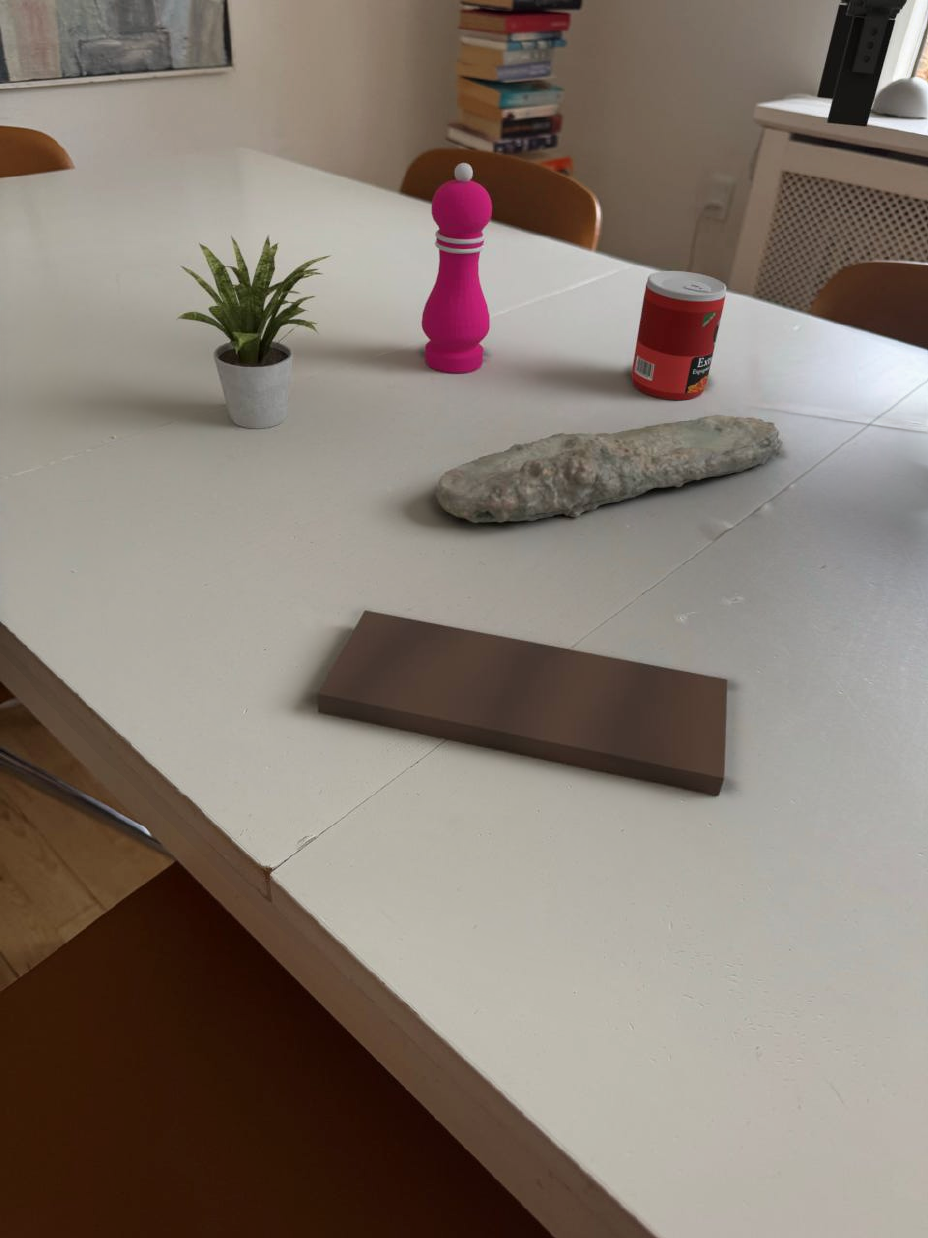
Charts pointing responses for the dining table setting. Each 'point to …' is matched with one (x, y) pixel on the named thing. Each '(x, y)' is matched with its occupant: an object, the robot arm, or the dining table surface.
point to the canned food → (677, 334)
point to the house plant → (253, 336)
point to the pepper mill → (458, 276)
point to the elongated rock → (602, 468)
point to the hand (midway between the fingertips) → (839, 110)
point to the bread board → (533, 700)
